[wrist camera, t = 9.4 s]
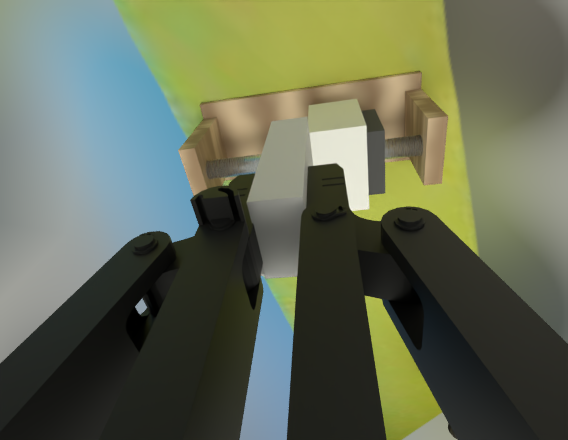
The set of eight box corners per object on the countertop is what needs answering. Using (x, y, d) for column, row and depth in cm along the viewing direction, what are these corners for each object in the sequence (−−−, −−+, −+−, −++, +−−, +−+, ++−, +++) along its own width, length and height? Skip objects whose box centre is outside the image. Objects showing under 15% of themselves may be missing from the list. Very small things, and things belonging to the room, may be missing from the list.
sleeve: (317, 175, 51) (317, 213, 42) (308, 105, 45) (307, 132, 37) (360, 171, 50) (369, 209, 41) (356, 98, 44) (366, 125, 36)
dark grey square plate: (360, 166, 48) (367, 195, 42) (358, 111, 44) (365, 132, 38) (375, 165, 48) (385, 193, 42) (374, 108, 44) (384, 130, 37)
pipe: (207, 175, 48) (201, 186, 45) (201, 155, 46) (195, 165, 44) (425, 150, 44) (431, 160, 41) (426, 128, 42) (433, 136, 40)
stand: (222, 177, 58) (202, 220, 47) (201, 102, 51) (172, 133, 41) (415, 155, 53) (440, 198, 43) (419, 71, 47) (449, 96, 36)
